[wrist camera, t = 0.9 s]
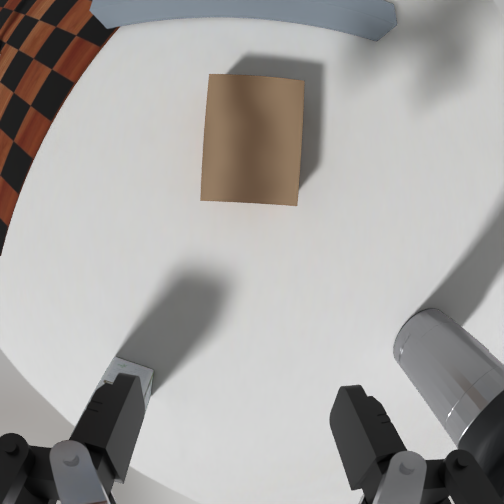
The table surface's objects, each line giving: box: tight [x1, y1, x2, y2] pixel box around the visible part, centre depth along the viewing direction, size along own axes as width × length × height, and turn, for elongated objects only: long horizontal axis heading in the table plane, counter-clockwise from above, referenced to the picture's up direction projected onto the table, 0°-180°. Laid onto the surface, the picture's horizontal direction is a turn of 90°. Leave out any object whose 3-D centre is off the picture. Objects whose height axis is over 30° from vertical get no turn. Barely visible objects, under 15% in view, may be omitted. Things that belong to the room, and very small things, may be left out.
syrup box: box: [71, 357, 154, 435], centre depth 26 cm, size 6×6×14 cm
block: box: [200, 74, 304, 206], centre depth 24 cm, size 8×11×4 cm
